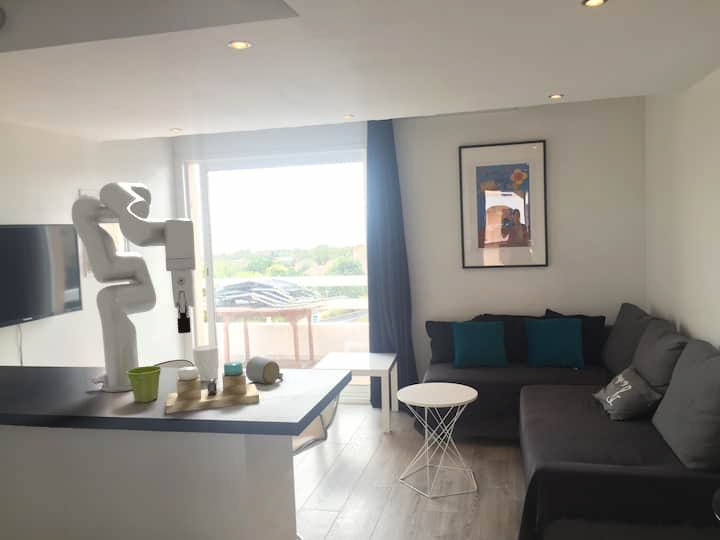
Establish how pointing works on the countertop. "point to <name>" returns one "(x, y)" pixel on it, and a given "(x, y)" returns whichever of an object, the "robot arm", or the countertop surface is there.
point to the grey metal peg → (212, 387)
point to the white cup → (206, 361)
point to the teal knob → (233, 368)
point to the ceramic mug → (262, 370)
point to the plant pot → (145, 382)
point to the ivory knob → (188, 373)
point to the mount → (196, 398)
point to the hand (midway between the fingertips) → (184, 332)
